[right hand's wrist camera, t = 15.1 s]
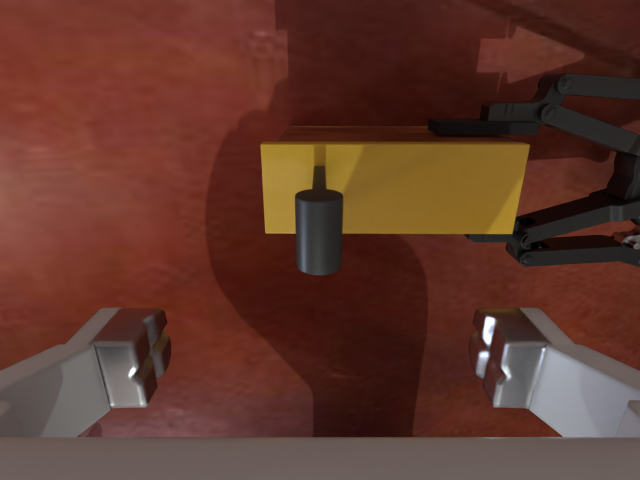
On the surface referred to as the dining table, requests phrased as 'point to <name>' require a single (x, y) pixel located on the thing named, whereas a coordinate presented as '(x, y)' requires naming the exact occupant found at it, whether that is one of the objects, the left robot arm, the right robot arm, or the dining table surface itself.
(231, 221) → the dining table surface
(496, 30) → the dining table surface
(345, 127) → the chest
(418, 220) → the lid
